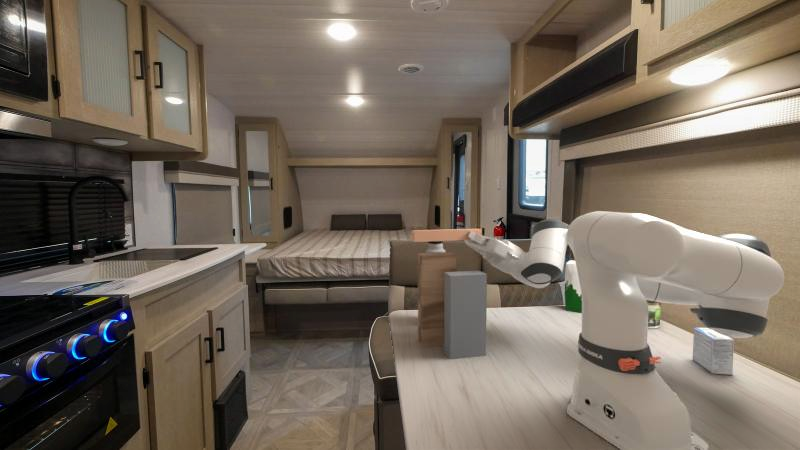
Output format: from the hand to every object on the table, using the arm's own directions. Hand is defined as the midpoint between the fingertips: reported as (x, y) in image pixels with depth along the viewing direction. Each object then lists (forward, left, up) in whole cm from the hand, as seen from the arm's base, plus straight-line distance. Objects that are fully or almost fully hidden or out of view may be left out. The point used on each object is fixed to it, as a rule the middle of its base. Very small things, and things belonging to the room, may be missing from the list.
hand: (465, 233), depth 105 cm
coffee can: (0, -62, -32) cm, 70 cm away
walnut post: (0, +9, -32) cm, 33 cm away
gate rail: (0, +6, -2) cm, 6 cm away
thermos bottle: (+17, +4, -32) cm, 37 cm away
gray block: (-9, +4, -32) cm, 33 cm away
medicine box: (-30, -52, -32) cm, 68 cm away
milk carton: (+18, -52, -32) cm, 64 cm away
